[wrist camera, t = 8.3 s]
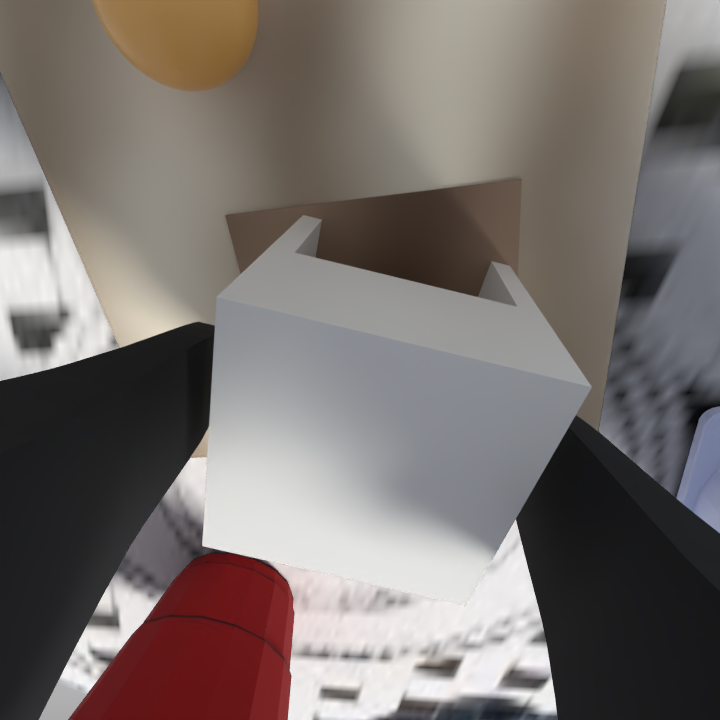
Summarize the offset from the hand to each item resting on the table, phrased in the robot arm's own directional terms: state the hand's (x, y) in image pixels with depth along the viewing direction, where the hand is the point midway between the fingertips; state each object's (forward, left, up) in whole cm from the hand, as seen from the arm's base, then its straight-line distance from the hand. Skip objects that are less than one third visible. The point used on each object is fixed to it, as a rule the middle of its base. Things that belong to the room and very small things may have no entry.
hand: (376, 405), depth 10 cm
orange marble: (+3, -8, -4) cm, 9 cm away
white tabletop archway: (0, 0, -4) cm, 4 cm away
